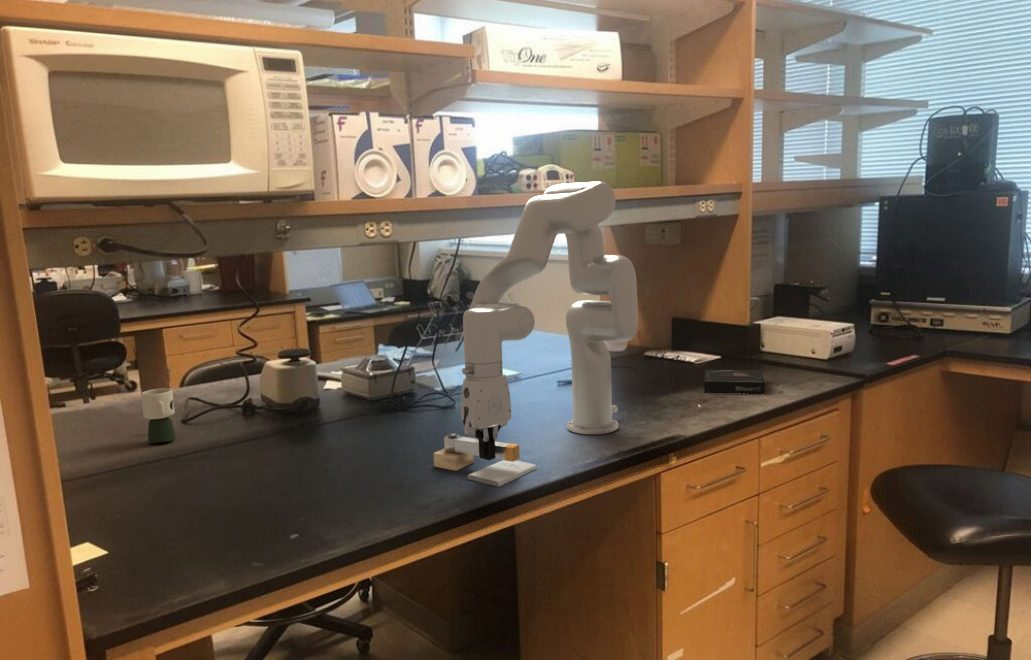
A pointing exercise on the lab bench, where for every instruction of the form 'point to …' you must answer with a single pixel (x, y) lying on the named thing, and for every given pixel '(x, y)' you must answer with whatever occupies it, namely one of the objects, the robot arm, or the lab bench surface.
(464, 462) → the block
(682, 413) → the lab bench surface
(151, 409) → the character mug
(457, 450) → the latch arm
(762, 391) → the portable cd player
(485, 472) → the external hard drive
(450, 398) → the lab bench surface
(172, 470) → the lab bench surface
